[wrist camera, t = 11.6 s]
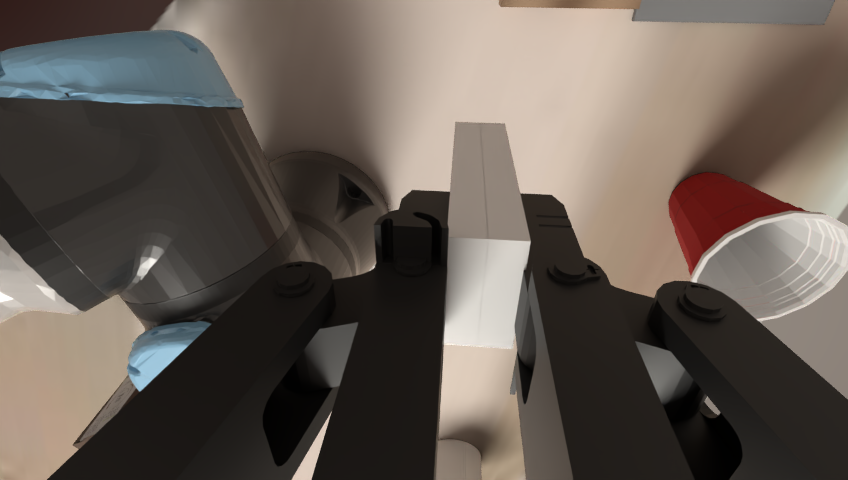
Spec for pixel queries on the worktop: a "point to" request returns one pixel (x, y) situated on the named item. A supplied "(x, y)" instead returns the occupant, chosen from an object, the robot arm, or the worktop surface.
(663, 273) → the worktop surface
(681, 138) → the worktop surface
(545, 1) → the walnut deck
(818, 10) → the rubber mat
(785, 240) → the plastic cup
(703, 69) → the worktop surface
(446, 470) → the cup
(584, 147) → the worktop surface
